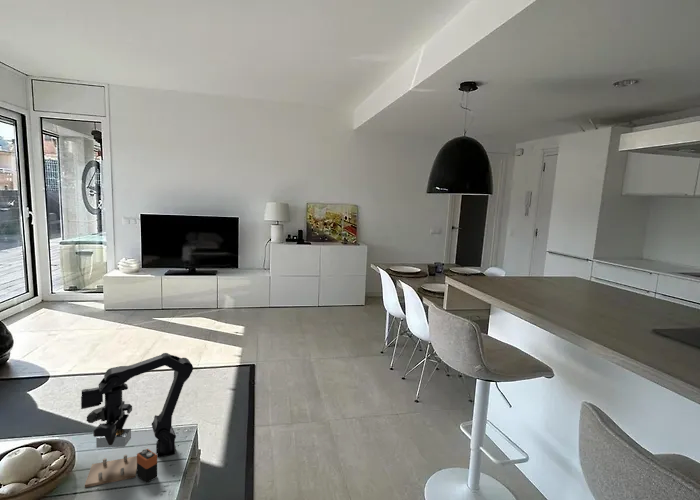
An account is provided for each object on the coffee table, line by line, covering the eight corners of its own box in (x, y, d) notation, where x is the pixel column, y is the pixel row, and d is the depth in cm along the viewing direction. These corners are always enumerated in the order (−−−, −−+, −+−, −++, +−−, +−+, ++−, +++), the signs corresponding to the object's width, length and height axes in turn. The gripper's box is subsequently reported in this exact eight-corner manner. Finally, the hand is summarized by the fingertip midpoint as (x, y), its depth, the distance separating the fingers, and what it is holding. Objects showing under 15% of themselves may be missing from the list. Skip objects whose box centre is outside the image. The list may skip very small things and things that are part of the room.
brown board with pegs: (139, 457, 155) (138, 450, 154) (135, 477, 144) (135, 469, 143) (92, 466, 148) (92, 458, 148) (84, 487, 137) (84, 479, 137)
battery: (146, 483, 141) (146, 458, 140) (136, 476, 144) (136, 451, 143) (157, 477, 144) (157, 452, 143) (147, 470, 148) (147, 445, 147)
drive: (96, 447, 144) (96, 437, 144) (103, 439, 150) (103, 429, 149) (124, 446, 146) (124, 436, 145) (131, 438, 151) (130, 428, 151)
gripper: (103, 390, 154) (103, 427, 156) (77, 415, 136) (77, 456, 137) (132, 390, 156) (132, 426, 157) (110, 414, 137) (111, 455, 139)
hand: (114, 440), depth 148 cm, fingers closed on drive, 5 cm apart
